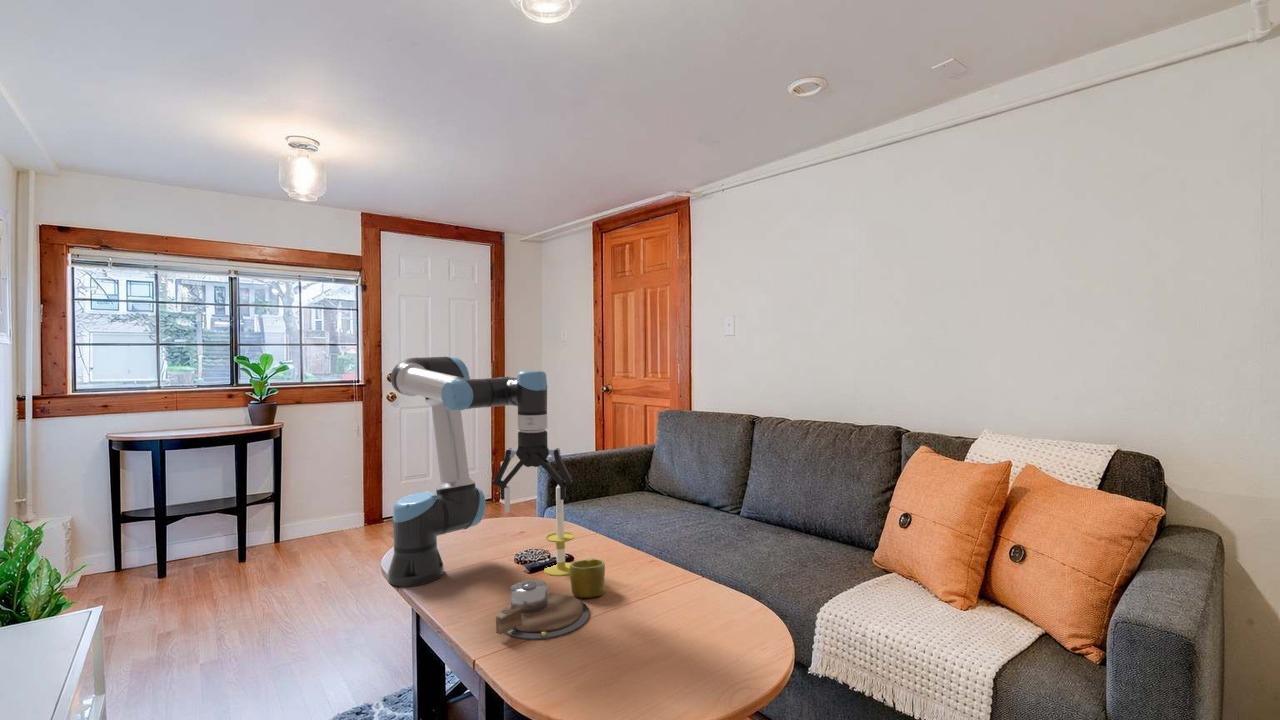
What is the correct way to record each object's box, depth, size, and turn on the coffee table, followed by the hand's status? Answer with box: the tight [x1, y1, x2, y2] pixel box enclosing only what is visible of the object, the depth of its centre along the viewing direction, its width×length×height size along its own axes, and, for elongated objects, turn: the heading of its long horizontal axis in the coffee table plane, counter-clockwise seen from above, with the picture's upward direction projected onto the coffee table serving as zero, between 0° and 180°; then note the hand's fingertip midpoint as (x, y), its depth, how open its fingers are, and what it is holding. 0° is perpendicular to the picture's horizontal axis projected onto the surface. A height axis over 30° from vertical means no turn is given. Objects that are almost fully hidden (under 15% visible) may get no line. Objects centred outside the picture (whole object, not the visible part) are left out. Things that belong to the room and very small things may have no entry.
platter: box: [495, 593, 583, 635], centre depth 137 cm, size 19×24×5 cm
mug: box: [569, 557, 606, 599], centre depth 153 cm, size 12×10×10 cm
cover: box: [510, 579, 549, 613], centre depth 141 cm, size 9×9×5 cm
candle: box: [543, 484, 576, 577], centre depth 169 cm, size 10×10×27 cm
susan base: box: [499, 599, 590, 641], centre depth 138 cm, size 22×22×1 cm
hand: (533, 512), depth 148 cm, fingers open, 13 cm apart
